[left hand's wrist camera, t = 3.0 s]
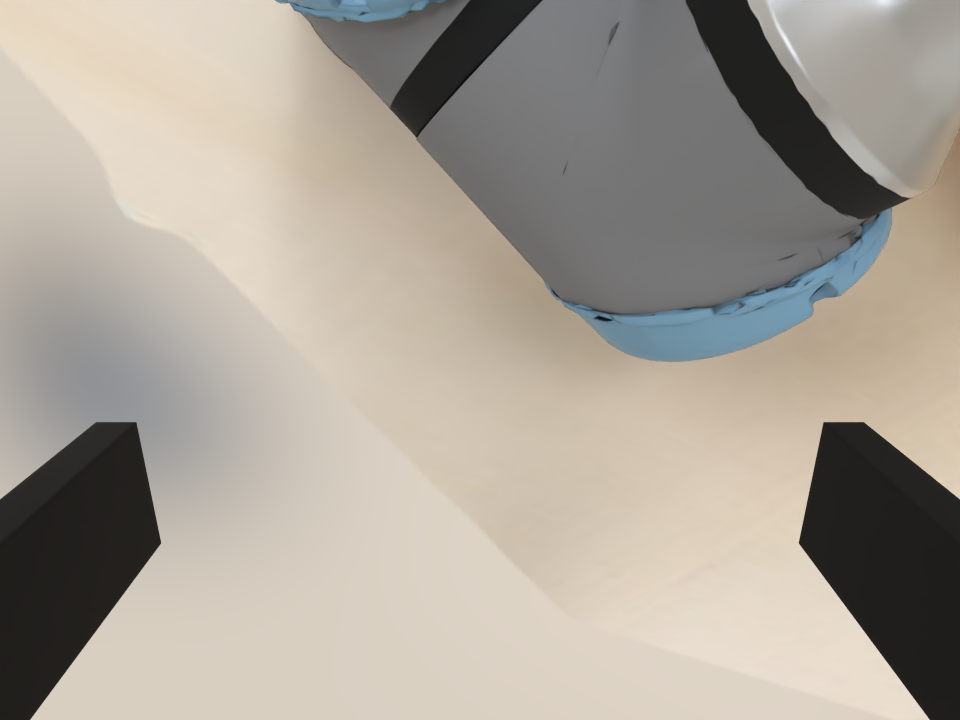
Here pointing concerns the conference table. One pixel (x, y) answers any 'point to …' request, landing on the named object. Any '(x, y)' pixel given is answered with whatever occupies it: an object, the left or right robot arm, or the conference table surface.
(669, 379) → the conference table surface
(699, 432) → the conference table surface
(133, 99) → the conference table surface
